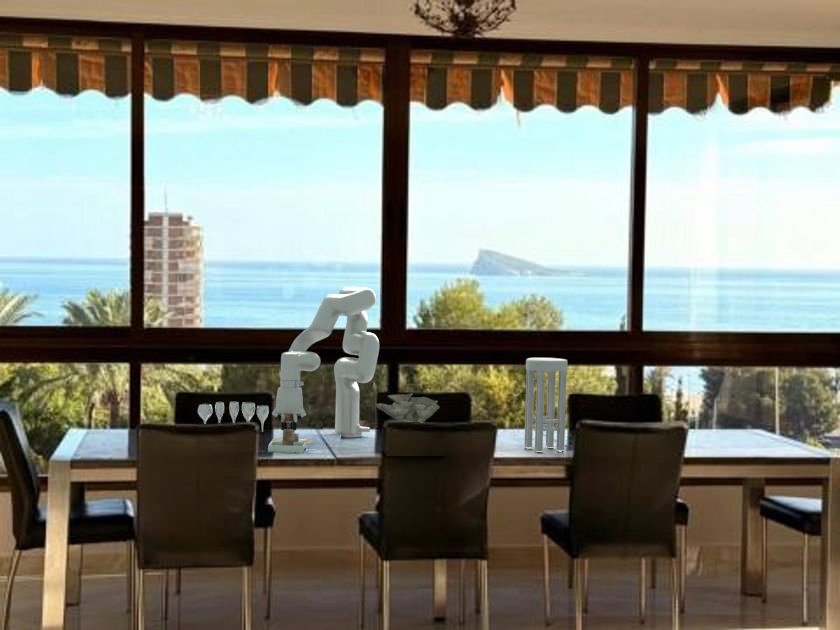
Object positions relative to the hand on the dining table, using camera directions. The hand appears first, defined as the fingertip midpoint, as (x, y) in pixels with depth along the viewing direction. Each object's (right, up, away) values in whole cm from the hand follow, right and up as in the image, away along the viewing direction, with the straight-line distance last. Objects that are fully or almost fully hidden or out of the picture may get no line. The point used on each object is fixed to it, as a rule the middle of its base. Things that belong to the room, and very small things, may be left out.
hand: (288, 431), depth 476 cm
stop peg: (+2, -5, -19) cm, 19 cm away
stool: (+98, -7, -2) cm, 98 cm away
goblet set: (-24, -3, +18) cm, 30 cm away
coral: (+46, -7, -16) cm, 49 cm away
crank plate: (+1, -5, -5) cm, 7 cm away
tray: (+1, -5, -19) cm, 19 cm away
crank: (+1, -3, -4) cm, 5 cm away
